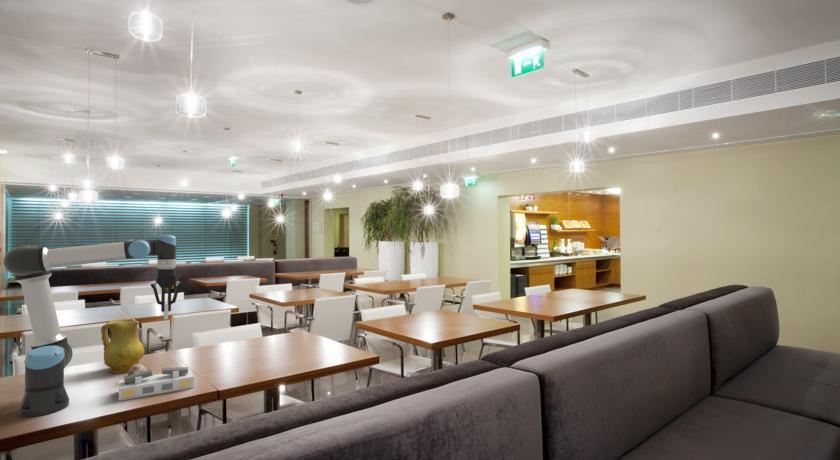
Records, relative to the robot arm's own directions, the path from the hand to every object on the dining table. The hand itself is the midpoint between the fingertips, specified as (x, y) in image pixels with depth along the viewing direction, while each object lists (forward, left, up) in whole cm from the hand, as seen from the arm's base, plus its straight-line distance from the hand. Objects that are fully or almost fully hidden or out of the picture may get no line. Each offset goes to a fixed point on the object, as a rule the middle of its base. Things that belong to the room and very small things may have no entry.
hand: (166, 318), depth 204 cm
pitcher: (-16, +32, -30) cm, 46 cm away
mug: (-9, +10, -30) cm, 33 cm away
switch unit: (-4, -10, -29) cm, 31 cm away
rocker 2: (+3, -10, -22) cm, 25 cm away
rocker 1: (-11, -10, -22) cm, 27 cm away
